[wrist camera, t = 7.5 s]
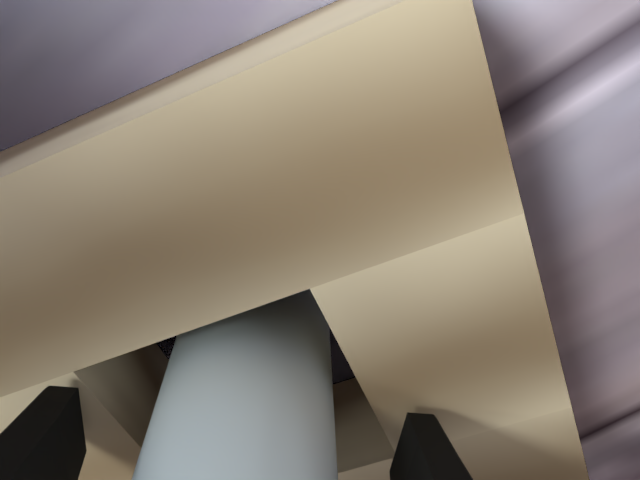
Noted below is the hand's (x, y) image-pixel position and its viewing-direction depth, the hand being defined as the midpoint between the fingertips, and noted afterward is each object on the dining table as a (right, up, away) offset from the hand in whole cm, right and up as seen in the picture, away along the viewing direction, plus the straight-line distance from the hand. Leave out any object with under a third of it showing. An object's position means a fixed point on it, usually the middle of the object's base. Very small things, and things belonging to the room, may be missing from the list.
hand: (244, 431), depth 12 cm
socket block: (0, +2, +3) cm, 3 cm away
